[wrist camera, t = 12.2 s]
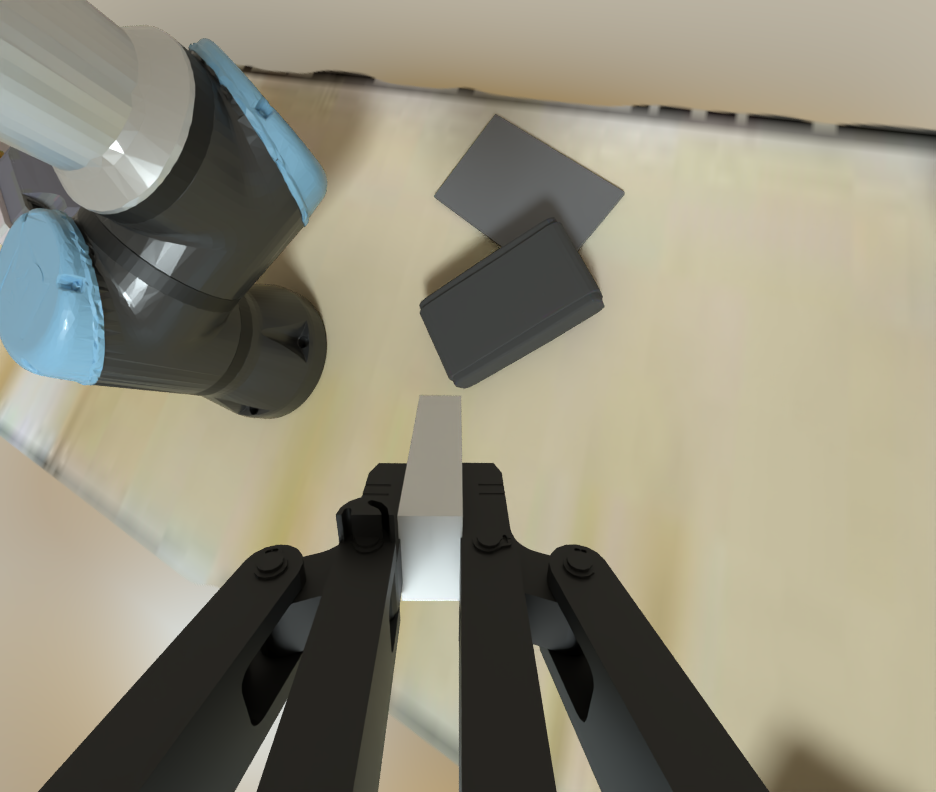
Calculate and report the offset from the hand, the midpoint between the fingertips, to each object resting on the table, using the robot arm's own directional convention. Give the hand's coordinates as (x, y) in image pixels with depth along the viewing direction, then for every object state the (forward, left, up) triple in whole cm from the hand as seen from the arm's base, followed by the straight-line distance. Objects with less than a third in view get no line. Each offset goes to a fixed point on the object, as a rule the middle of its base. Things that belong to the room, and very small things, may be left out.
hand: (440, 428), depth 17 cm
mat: (-17, +16, -25) cm, 34 cm away
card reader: (-8, +14, -22) cm, 27 cm away
